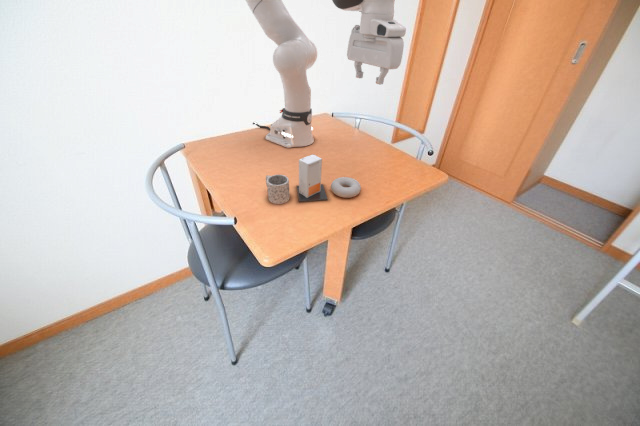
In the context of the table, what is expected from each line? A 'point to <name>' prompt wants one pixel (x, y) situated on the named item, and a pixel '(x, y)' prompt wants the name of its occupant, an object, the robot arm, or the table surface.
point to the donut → (345, 187)
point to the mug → (278, 188)
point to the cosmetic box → (310, 175)
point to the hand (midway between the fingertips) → (368, 80)
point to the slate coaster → (313, 196)
